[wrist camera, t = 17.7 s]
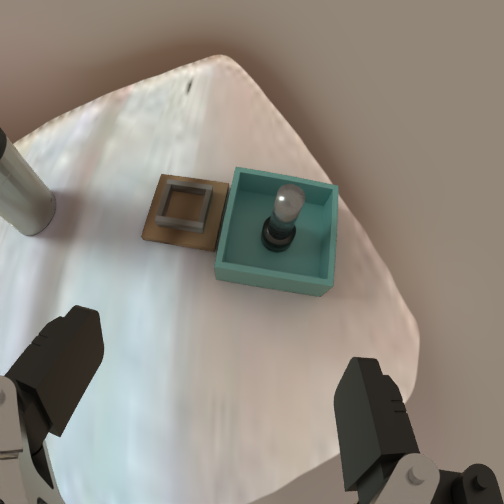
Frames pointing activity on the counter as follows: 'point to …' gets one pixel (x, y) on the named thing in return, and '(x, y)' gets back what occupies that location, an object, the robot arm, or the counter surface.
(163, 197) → the square framed wooden base
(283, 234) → the tube
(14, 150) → the robot arm
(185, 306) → the counter surface
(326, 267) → the bin
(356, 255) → the counter surface
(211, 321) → the counter surface
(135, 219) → the counter surface
